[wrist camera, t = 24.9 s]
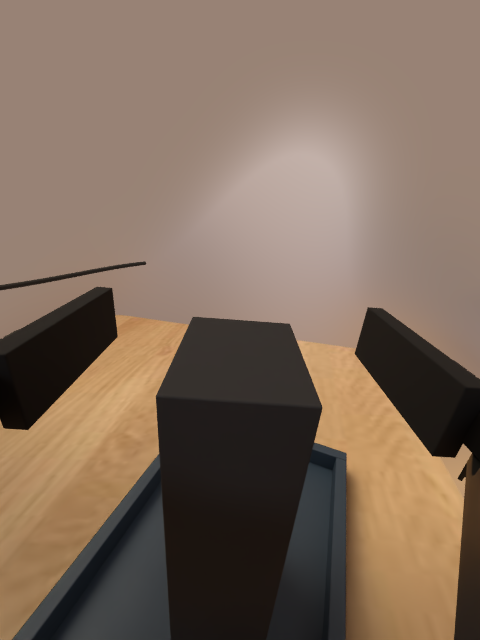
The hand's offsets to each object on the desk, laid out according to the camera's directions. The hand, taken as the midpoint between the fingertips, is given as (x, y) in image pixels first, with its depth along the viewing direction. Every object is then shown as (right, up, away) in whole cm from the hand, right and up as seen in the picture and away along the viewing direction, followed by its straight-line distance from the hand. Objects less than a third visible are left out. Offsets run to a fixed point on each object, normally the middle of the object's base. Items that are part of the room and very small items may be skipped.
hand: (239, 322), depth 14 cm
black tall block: (-1, -15, 0) cm, 15 cm away
